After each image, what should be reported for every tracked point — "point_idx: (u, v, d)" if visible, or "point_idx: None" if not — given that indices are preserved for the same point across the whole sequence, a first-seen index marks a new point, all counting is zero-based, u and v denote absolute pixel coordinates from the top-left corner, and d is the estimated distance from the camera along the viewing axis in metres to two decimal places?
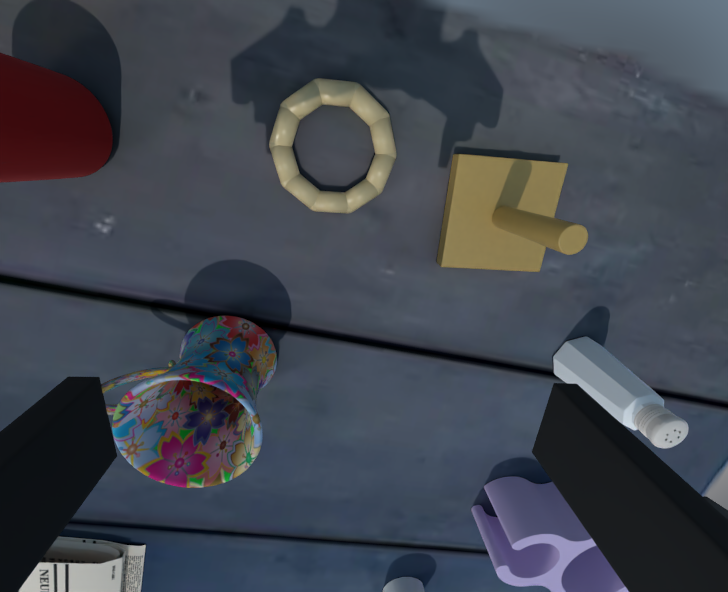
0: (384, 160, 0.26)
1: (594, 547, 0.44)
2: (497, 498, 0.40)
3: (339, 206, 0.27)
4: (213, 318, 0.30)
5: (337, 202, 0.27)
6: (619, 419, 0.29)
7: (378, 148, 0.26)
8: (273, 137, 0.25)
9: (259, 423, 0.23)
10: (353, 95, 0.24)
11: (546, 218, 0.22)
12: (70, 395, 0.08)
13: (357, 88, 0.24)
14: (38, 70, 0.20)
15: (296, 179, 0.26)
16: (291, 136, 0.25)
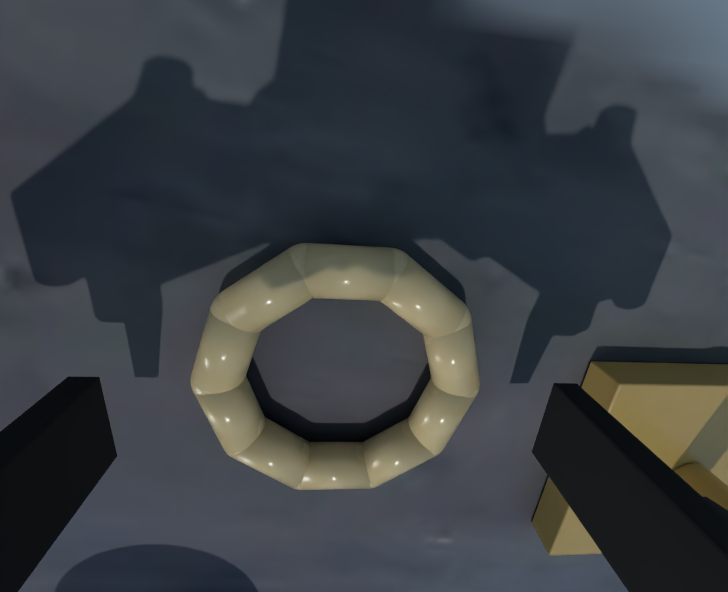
0: (455, 407, 0.11)
1: None
2: None
3: (352, 486, 0.12)
4: None
5: (348, 480, 0.12)
6: None
7: (442, 380, 0.11)
8: (196, 376, 0.10)
9: None
10: (390, 288, 0.10)
11: None
12: (70, 395, 0.08)
13: (401, 270, 0.10)
14: None
15: (256, 448, 0.12)
16: (240, 369, 0.11)
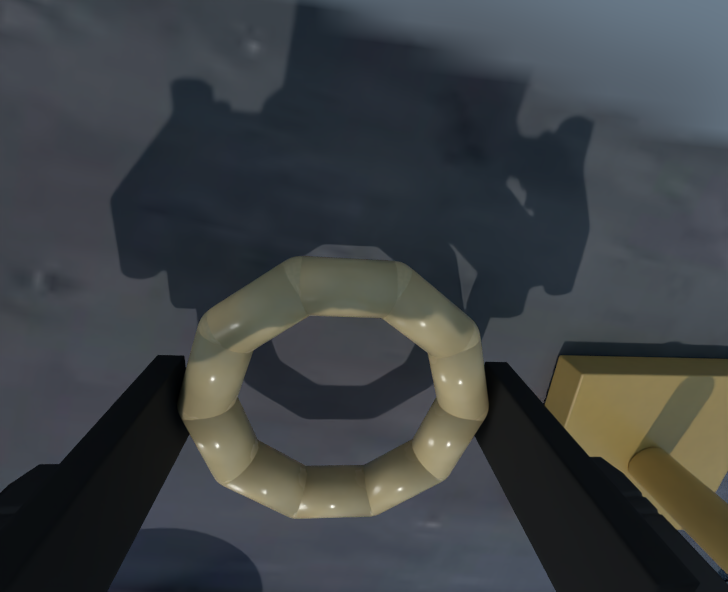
0: (463, 430, 0.11)
1: None
2: None
3: (352, 514, 0.12)
4: None
5: (347, 509, 0.11)
6: None
7: (448, 402, 0.11)
8: (183, 400, 0.10)
9: None
10: (393, 305, 0.09)
11: None
12: (165, 370, 0.10)
13: (405, 286, 0.09)
14: None
15: (248, 475, 0.11)
16: (231, 392, 0.10)
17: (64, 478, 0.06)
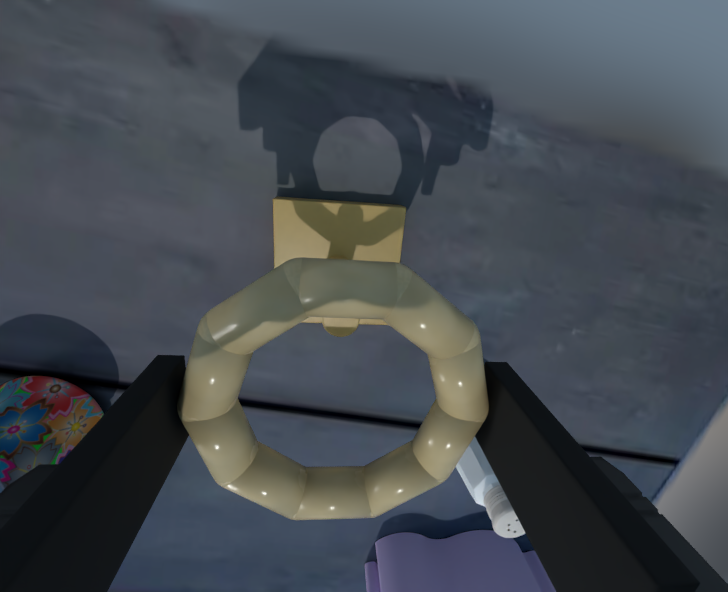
0: (463, 432, 0.11)
1: None
2: (383, 559, 0.36)
3: (351, 515, 0.12)
4: (18, 380, 0.26)
5: (347, 510, 0.11)
6: (473, 496, 0.25)
7: (448, 404, 0.11)
8: (183, 401, 0.10)
9: None
10: (393, 307, 0.09)
11: None
12: (165, 369, 0.10)
13: (405, 287, 0.09)
14: None
15: (248, 476, 0.11)
16: (231, 394, 0.10)
17: (64, 478, 0.06)
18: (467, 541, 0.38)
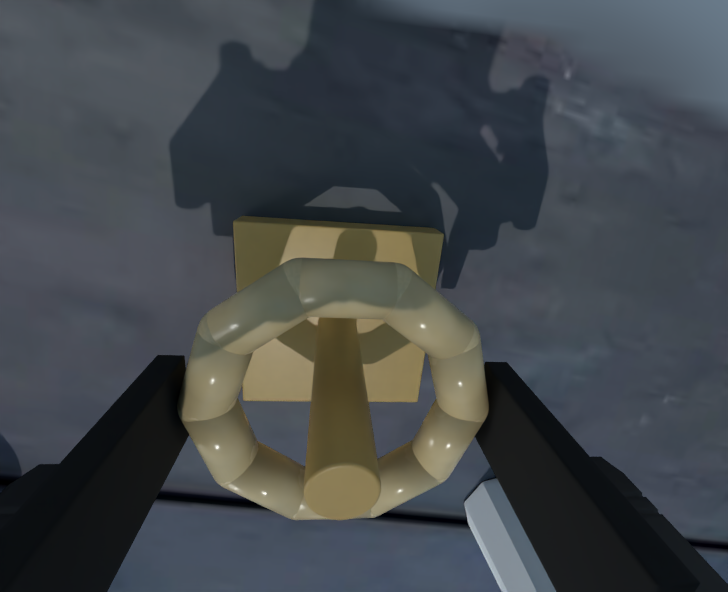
0: (463, 432, 0.11)
1: None
2: None
3: None
4: None
5: None
6: None
7: (448, 404, 0.11)
8: (183, 401, 0.10)
9: None
10: (393, 307, 0.09)
11: (330, 393, 0.10)
12: (165, 369, 0.10)
13: (405, 287, 0.09)
14: None
15: (248, 476, 0.11)
16: (231, 394, 0.10)
17: (64, 478, 0.06)
18: None
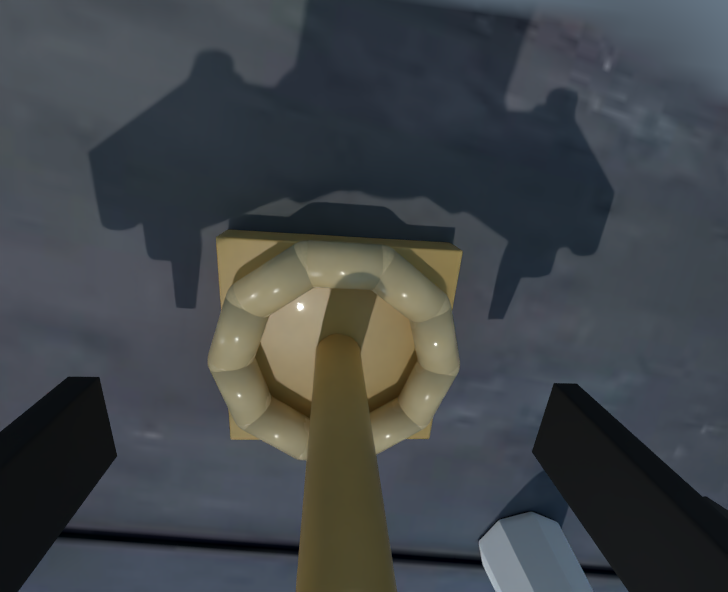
0: (438, 383, 0.13)
1: None
2: None
3: None
4: None
5: None
6: None
7: (426, 360, 0.13)
8: (213, 355, 0.12)
9: None
10: (380, 278, 0.11)
11: (329, 465, 0.08)
12: (70, 395, 0.08)
13: (388, 263, 0.12)
14: None
15: (263, 420, 0.13)
16: (251, 350, 0.12)
17: None
18: None
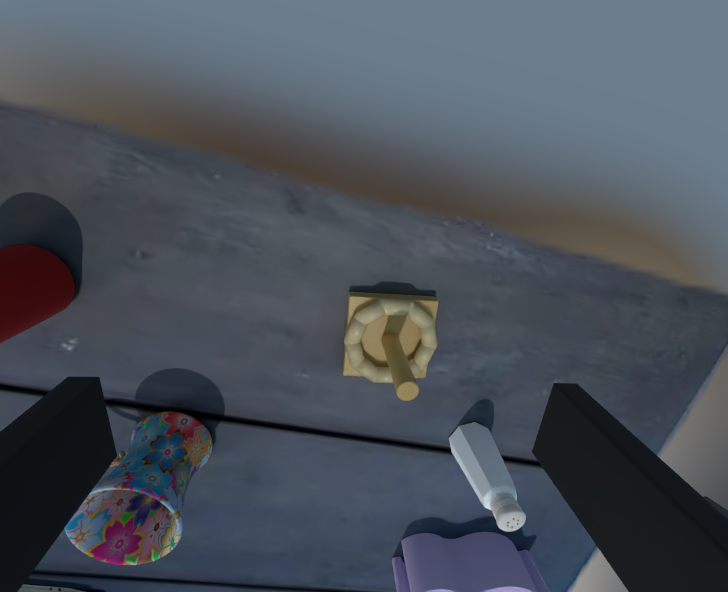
0: (428, 351, 0.35)
1: None
2: (408, 553, 0.46)
3: None
4: (157, 414, 0.37)
5: None
6: (482, 503, 0.36)
7: (424, 342, 0.35)
8: (348, 338, 0.34)
9: (179, 518, 0.29)
10: (409, 312, 0.33)
11: (399, 365, 0.29)
12: (70, 395, 0.08)
13: (412, 307, 0.33)
14: (14, 263, 0.27)
15: (362, 364, 0.35)
16: (361, 337, 0.34)
17: None
18: (474, 540, 0.48)
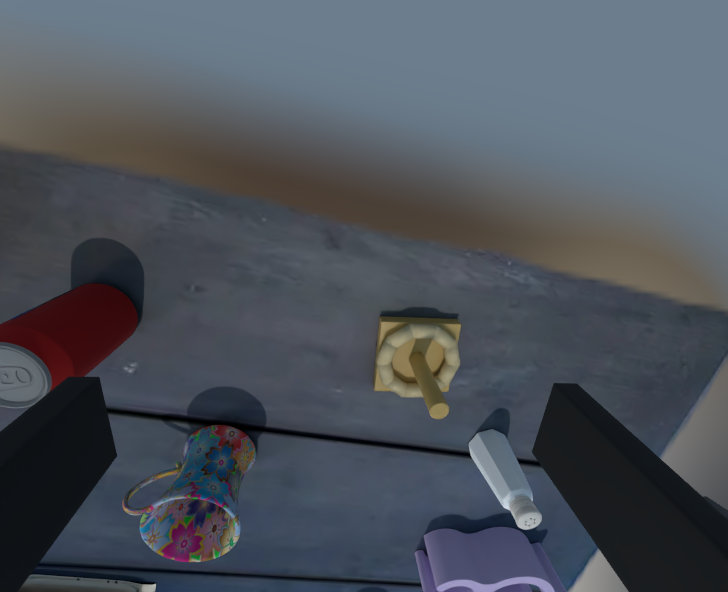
0: (452, 369, 0.38)
1: None
2: (431, 547, 0.51)
3: (420, 395, 0.39)
4: (208, 428, 0.41)
5: (419, 393, 0.39)
6: (502, 504, 0.40)
7: (448, 361, 0.38)
8: (380, 359, 0.37)
9: (238, 521, 0.34)
10: (435, 336, 0.37)
11: (429, 386, 0.33)
12: (70, 395, 0.08)
13: (438, 331, 0.37)
14: (93, 304, 0.31)
15: (393, 382, 0.39)
16: (392, 358, 0.38)
17: None
18: (490, 534, 0.52)
